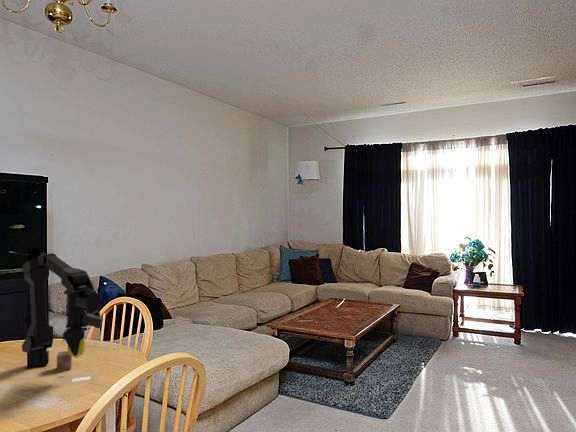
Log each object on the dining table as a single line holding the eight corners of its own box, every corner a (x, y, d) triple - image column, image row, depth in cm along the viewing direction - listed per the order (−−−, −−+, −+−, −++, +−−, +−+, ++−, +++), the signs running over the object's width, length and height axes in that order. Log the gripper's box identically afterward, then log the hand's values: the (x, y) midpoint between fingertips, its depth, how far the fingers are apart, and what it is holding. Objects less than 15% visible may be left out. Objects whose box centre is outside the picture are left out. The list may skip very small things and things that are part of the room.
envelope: (51, 387, 141) (51, 386, 141) (55, 377, 150) (55, 376, 150) (98, 381, 146) (98, 380, 146) (99, 371, 155) (99, 370, 155)
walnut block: (56, 372, 155) (56, 356, 155) (58, 368, 159) (58, 352, 159) (70, 370, 156) (70, 354, 156) (71, 366, 161) (71, 350, 160)
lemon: (78, 361, 145) (78, 338, 145) (63, 360, 146) (63, 336, 146) (88, 356, 150) (88, 333, 150) (75, 355, 152) (74, 332, 151)
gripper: (100, 311, 142) (100, 358, 142) (102, 300, 160) (102, 342, 160) (62, 314, 138) (62, 363, 138) (69, 303, 156) (69, 346, 156)
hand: (76, 352), depth 148 cm, fingers closed on lemon, 5 cm apart
